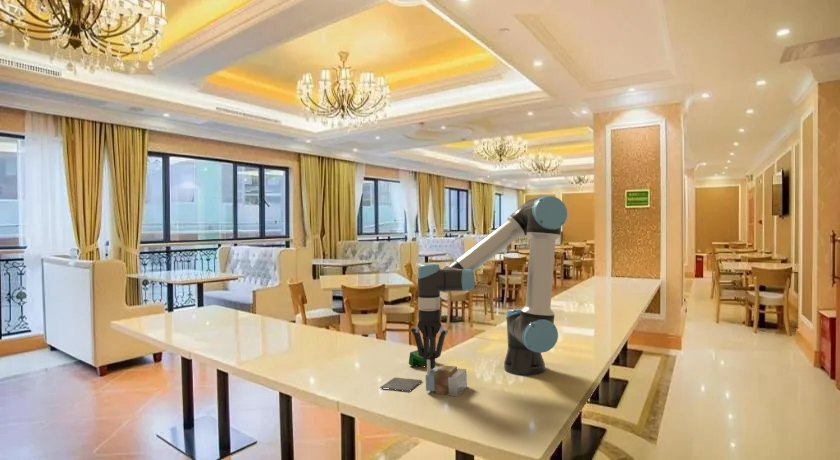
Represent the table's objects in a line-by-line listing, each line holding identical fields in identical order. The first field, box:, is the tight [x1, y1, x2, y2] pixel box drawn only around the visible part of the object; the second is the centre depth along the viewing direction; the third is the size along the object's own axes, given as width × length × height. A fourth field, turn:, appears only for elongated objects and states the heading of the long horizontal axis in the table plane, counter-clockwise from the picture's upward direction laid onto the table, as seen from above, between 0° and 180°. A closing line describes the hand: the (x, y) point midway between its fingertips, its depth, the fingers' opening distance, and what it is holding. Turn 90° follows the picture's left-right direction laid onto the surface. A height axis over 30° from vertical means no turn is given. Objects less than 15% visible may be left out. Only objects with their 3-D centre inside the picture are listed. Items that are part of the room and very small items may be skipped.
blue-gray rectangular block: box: [425, 366, 442, 392], centre depth 154 cm, size 3×10×5 cm, turn 157°
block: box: [435, 364, 458, 395], centre depth 152 cm, size 5×8×7 cm, turn 157°
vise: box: [379, 367, 468, 397], centre depth 155 cm, size 28×11×6 cm, turn 67°
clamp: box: [408, 349, 430, 367], centre depth 183 cm, size 12×6×9 cm, turn 132°
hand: (430, 377), depth 155 cm, fingers closed
